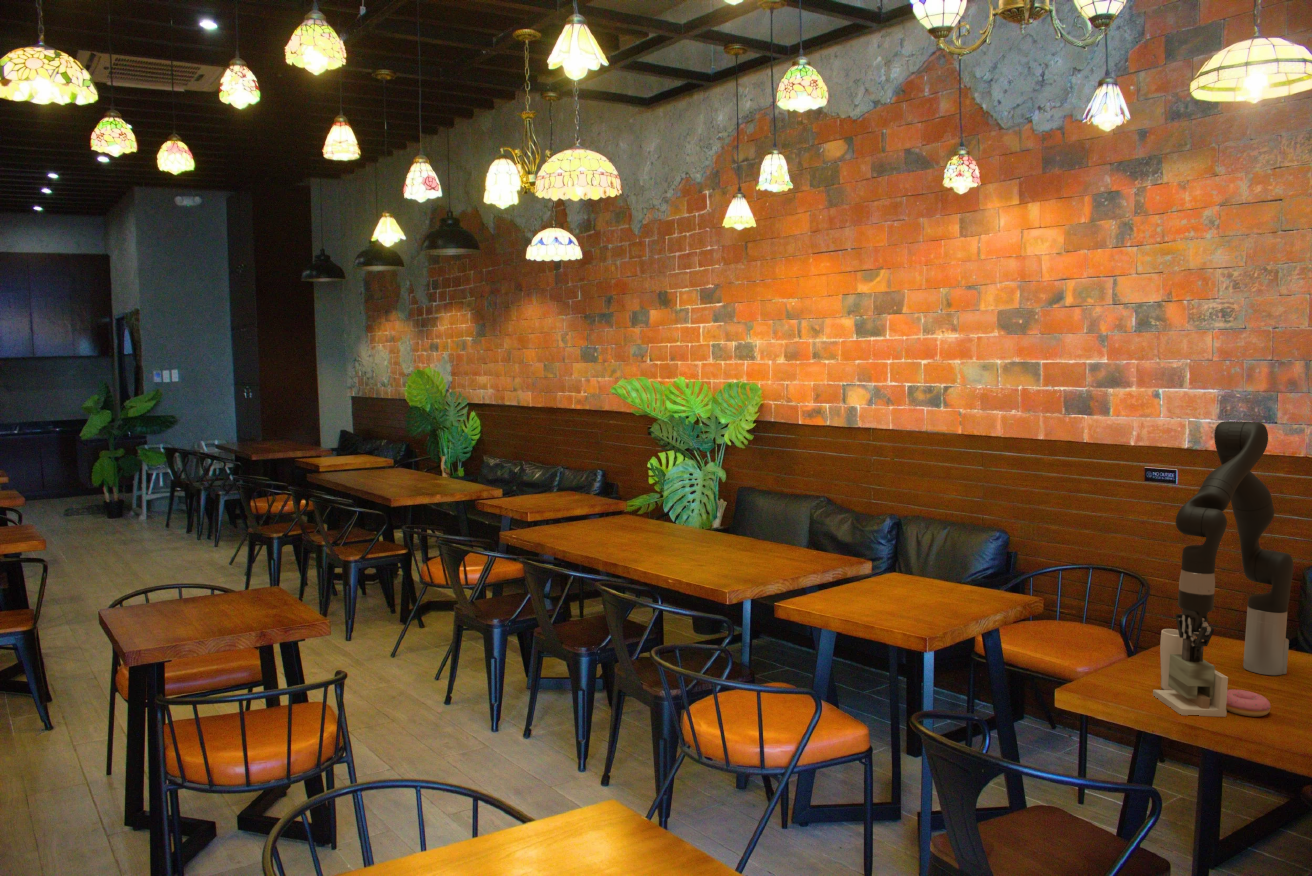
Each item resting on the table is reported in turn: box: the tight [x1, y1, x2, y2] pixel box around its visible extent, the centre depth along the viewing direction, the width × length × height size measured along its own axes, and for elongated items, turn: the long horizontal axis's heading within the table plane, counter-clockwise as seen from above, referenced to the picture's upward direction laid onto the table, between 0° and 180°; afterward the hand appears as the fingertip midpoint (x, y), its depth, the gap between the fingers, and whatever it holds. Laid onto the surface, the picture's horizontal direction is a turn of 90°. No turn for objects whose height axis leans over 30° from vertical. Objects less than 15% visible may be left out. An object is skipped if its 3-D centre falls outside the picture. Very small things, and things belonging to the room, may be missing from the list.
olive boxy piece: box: [1168, 638, 1216, 699], centre depth 233 cm, size 6×9×13 cm, turn 179°
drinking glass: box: [1159, 628, 1183, 690], centre depth 244 cm, size 7×7×15 cm
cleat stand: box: [1152, 669, 1229, 718], centre depth 233 cm, size 10×14×10 cm
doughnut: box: [1226, 688, 1272, 718], centre depth 231 cm, size 11×11×4 cm
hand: (1191, 659), depth 233 cm, fingers closed on olive boxy piece
